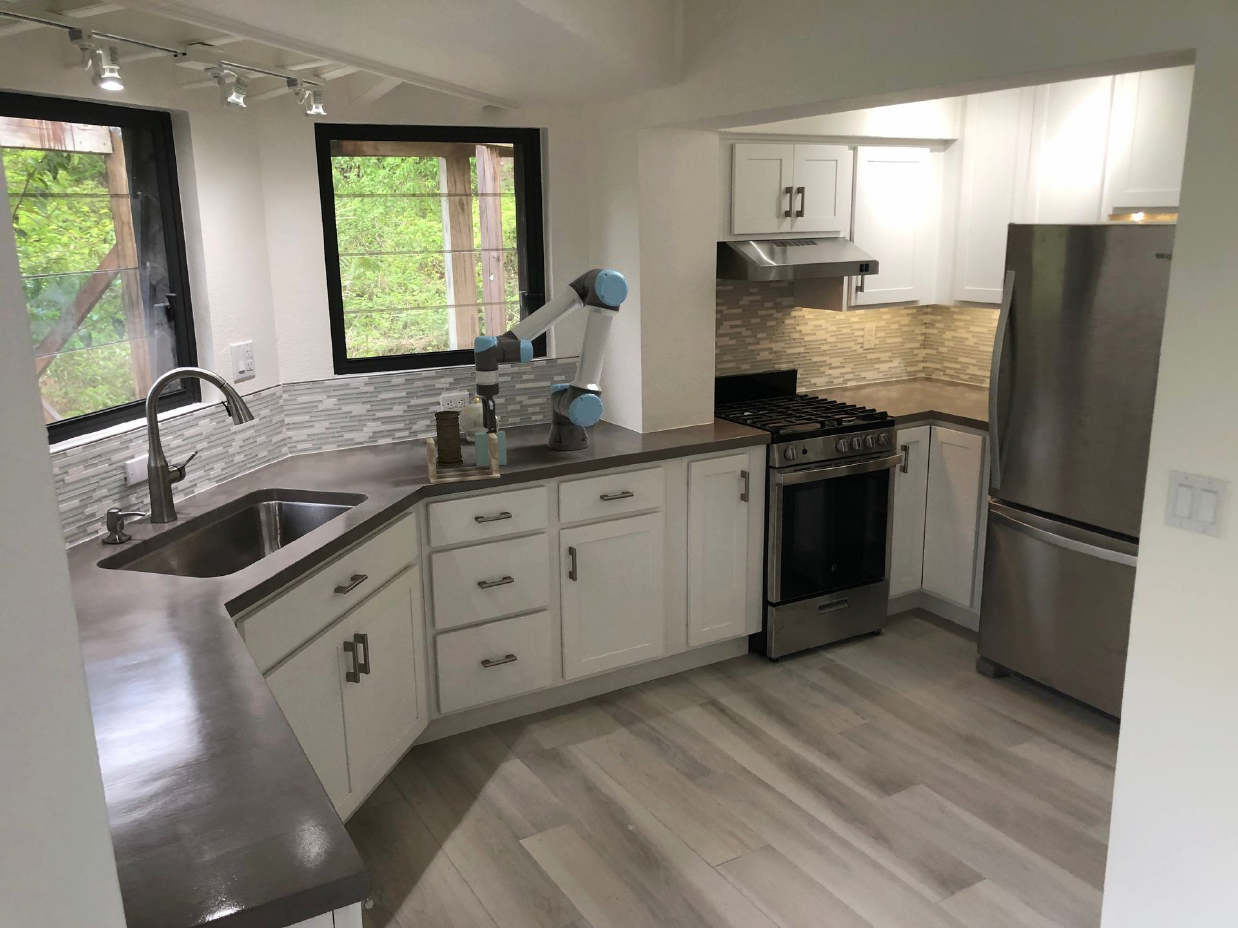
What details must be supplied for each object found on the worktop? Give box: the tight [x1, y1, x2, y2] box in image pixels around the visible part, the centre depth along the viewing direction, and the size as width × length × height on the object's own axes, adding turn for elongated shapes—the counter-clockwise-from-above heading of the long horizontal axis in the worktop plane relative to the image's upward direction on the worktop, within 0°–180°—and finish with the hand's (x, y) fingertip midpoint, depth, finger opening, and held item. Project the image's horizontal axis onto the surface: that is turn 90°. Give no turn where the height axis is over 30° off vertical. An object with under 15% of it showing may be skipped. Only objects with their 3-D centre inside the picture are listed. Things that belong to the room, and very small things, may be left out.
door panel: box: [474, 430, 508, 467], centre depth 328 cm, size 10×4×11 cm, turn 106°
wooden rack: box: [425, 433, 501, 484], centre depth 313 cm, size 22×11×13 cm, turn 106°
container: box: [434, 410, 464, 468], centre depth 328 cm, size 9×9×18 cm
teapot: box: [458, 397, 500, 444], centre depth 362 cm, size 18×14×16 cm
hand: (490, 449), depth 328 cm, fingers open, 8 cm apart
